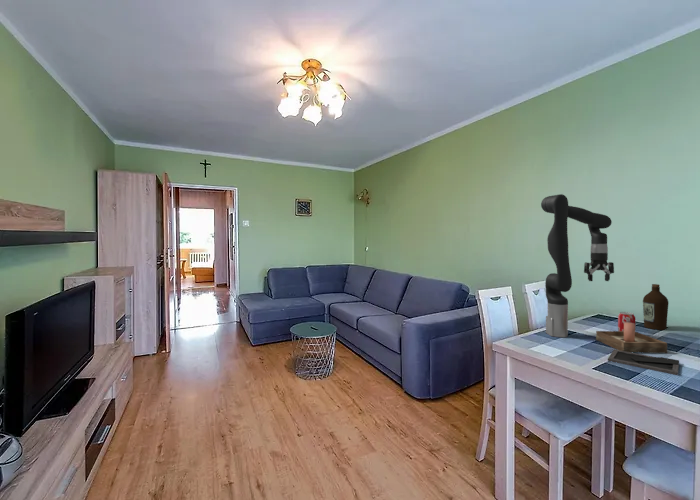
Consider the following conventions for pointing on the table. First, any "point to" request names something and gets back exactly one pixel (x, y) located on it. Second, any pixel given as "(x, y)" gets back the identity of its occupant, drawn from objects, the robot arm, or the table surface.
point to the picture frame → (645, 361)
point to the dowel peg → (629, 332)
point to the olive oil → (655, 309)
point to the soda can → (625, 319)
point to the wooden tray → (640, 344)
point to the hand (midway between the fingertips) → (598, 281)
